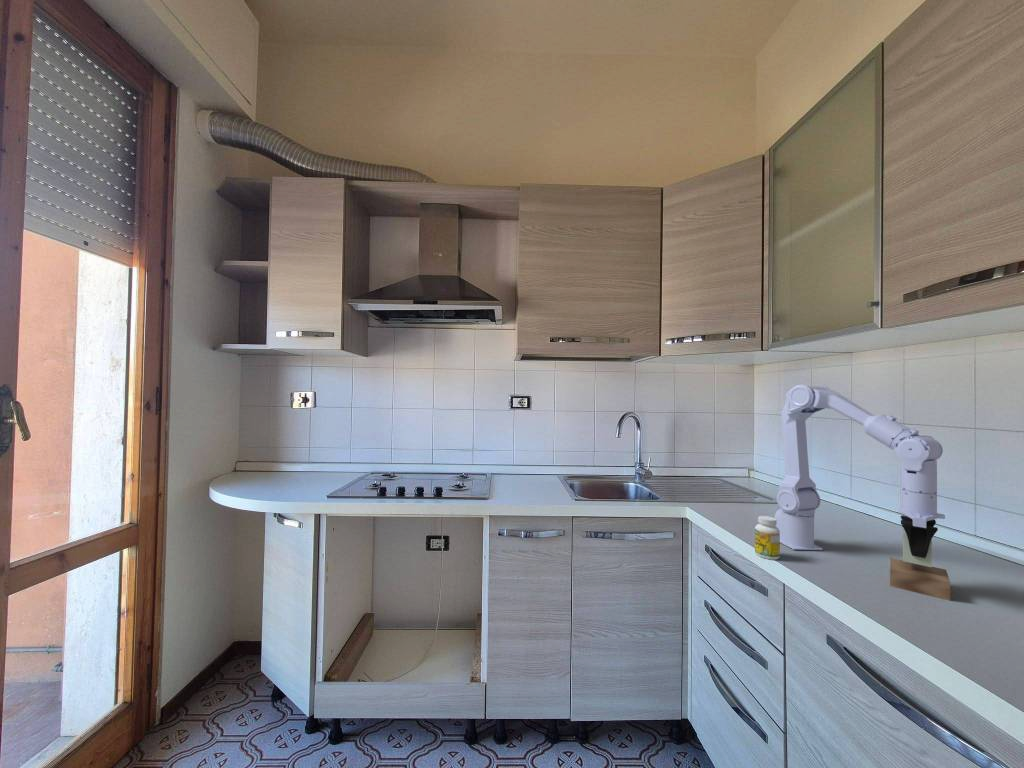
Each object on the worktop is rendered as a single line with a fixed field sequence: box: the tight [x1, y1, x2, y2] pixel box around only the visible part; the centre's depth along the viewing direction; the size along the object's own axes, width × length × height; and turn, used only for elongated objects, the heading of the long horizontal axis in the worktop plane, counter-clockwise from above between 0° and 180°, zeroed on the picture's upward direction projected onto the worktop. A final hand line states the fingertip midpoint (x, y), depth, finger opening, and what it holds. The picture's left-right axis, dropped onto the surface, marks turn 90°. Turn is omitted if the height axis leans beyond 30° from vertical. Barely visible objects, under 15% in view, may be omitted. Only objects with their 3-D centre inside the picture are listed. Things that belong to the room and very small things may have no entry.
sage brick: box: [902, 528, 933, 567], centre depth 91 cm, size 4×4×6 cm
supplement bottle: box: [754, 515, 781, 561], centre depth 105 cm, size 5×5×10 cm
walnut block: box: [889, 557, 951, 602], centre depth 90 cm, size 9×9×4 cm
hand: (918, 553), depth 90 cm, fingers closed on sage brick, 4 cm apart
